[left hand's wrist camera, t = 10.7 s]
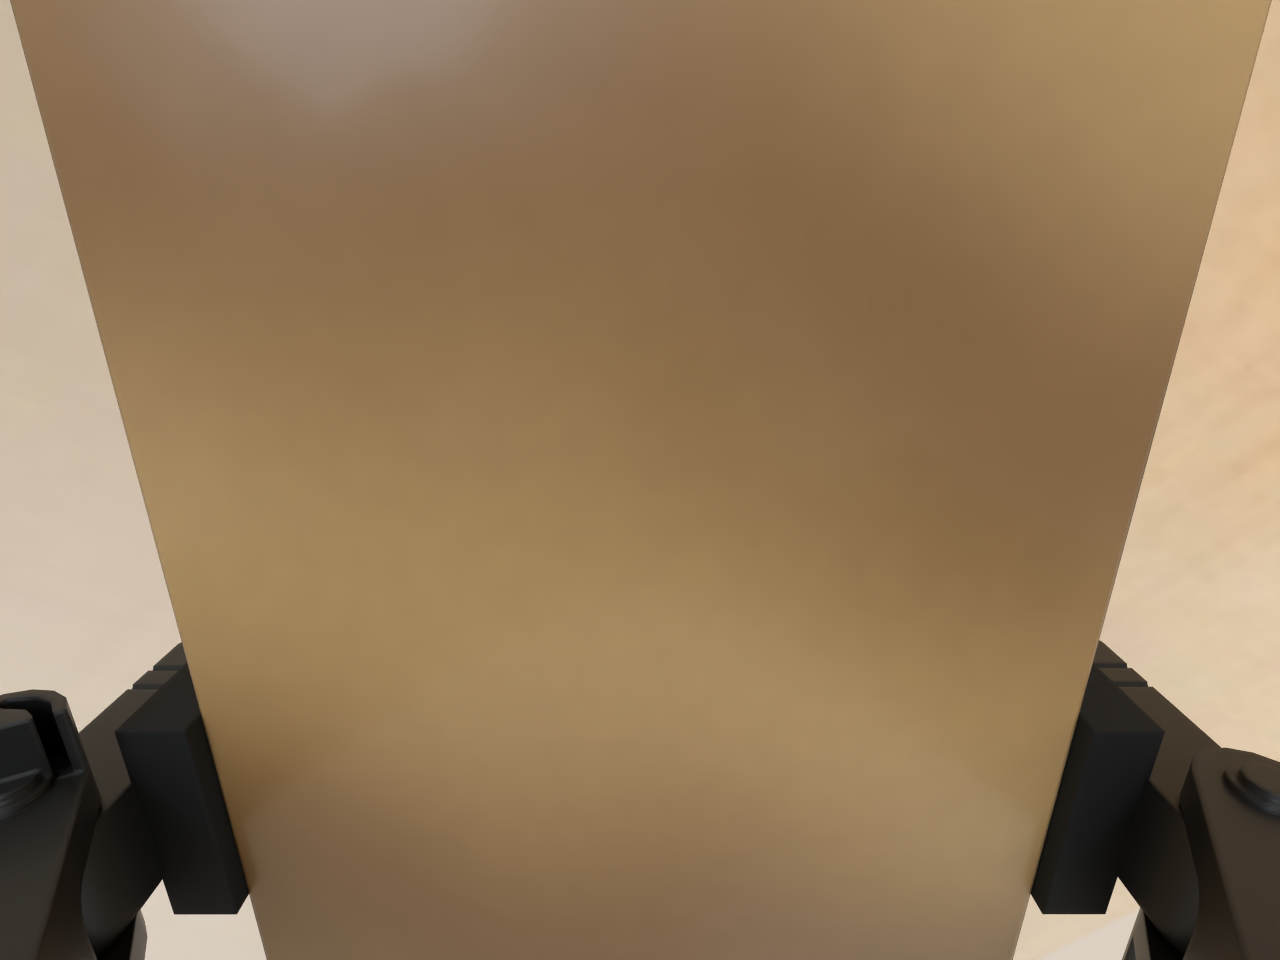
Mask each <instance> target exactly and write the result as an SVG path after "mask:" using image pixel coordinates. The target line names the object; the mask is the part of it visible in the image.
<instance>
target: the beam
mask: <svg viewBox="0 0 1280 960" xmlns="http://www.w3.org/2000/svg"><path fill="white" fill-rule="evenodd" d="M1271 1H1272V0H10V2H11V5H12V9H13V13H14V17H15V20H16V24H17V28H18V31H19V35H20V39H21V43H22V46H23V50H24V54H25V58H26V61H27V65H28V69H29V73H30V76H31V80H32V84H33V88H34V91H35V95H36V99H37V102H38V106H39V110H40V114H41V117H42V121H43V125H44V129H45V132H46V136H47V140H48V144H49V147H50V151H51V155H52V159H53V162H54V166H55V170H56V173H57V177H58V181H59V185H60V188H61V192H62V196H63V200H64V203H65V207H66V211H67V215H68V218H69V222H70V226H71V230H72V233H73V237H74V241H75V244H76V248H77V252H78V256H79V259H80V263H81V267H82V271H83V274H84V278H85V282H86V286H87V289H88V293H89V297H90V301H91V304H92V308H93V312H94V315H95V319H96V323H97V327H98V330H99V334H100V338H101V342H102V345H103V349H104V353H105V357H106V360H107V364H108V368H109V372H110V375H111V379H112V383H113V386H114V390H115V394H116V398H117V401H118V405H119V409H120V413H121V416H122V420H123V424H124V428H125V431H126V435H127V439H128V442H129V446H130V450H131V454H132V457H133V461H134V465H135V469H136V472H137V476H138V480H139V484H140V487H141V491H142V495H143V499H144V502H145V506H146V510H147V513H148V517H149V521H150V525H151V528H152V532H153V536H154V540H155V543H156V547H157V551H158V555H159V558H160V562H161V566H162V570H163V573H164V577H165V581H166V584H167V588H168V592H169V596H170V599H171V603H172V607H173V611H174V614H175V618H176V622H177V626H178V629H179V633H180V637H181V641H182V644H183V648H184V652H185V655H186V659H187V663H188V667H189V670H190V674H191V678H192V682H193V685H194V689H195V693H196V697H197V700H198V704H199V708H200V712H201V715H202V719H203V723H204V726H205V730H206V734H207V738H208V741H209V745H210V749H211V753H212V756H213V760H214V764H215V768H216V771H217V775H218V779H219V783H220V786H221V790H222V794H223V797H224V801H225V805H226V809H227V812H228V816H229V820H230V824H231V827H232V831H233V835H234V839H235V842H236V846H237V850H238V854H239V857H240V861H241V865H242V868H243V872H244V876H245V880H246V883H247V887H248V891H249V895H250V898H251V902H252V906H253V910H254V913H255V917H256V921H257V925H258V928H259V932H260V936H261V939H262V943H263V947H264V951H265V954H266V958H267V960H1013V956H1014V953H1015V949H1016V945H1017V941H1018V938H1019V934H1020V930H1021V927H1022V923H1023V919H1024V915H1025V912H1026V908H1027V904H1028V901H1029V897H1030V893H1031V890H1032V886H1033V882H1034V878H1035V875H1036V871H1037V867H1038V864H1039V860H1040V856H1041V853H1042V849H1043V845H1044V841H1045V838H1046V834H1047V830H1048V827H1049V823H1050V819H1051V816H1052V812H1053V808H1054V804H1055V801H1056V797H1057V793H1058V790H1059V786H1060V782H1061V778H1062V775H1063V771H1064V767H1065V764H1066V760H1067V756H1068V753H1069V749H1070V745H1071V741H1072V738H1073V734H1074V730H1075V727H1076V723H1077V719H1078V716H1079V712H1080V708H1081V704H1082V701H1083V697H1084V693H1085V690H1086V686H1087V682H1088V678H1089V675H1090V671H1091V667H1092V664H1093V660H1094V656H1095V653H1096V649H1097V645H1098V641H1099V638H1100V634H1101V630H1102V627H1103V623H1104V619H1105V616H1106V612H1107V608H1108V604H1109V601H1110V597H1111V593H1112V590H1113V586H1114V582H1115V578H1116V575H1117V571H1118V567H1119V564H1120V560H1121V556H1122V553H1123V549H1124V545H1125V541H1126V538H1127V534H1128V530H1129V527H1130V523H1131V519H1132V516H1133V512H1134V508H1135V504H1136V501H1137V497H1138V493H1139V490H1140V486H1141V482H1142V478H1143V475H1144V471H1145V467H1146V464H1147V460H1148V456H1149V453H1150V449H1151V445H1152V441H1153V438H1154V434H1155V430H1156V427H1157V423H1158V419H1159V416H1160V412H1161V408H1162V404H1163V401H1164V397H1165V393H1166V390H1167V386H1168V382H1169V378H1170V375H1171V371H1172V367H1173V364H1174V360H1175V356H1176V353H1177V349H1178V345H1179V341H1180V338H1181V334H1182V330H1183V327H1184V323H1185V319H1186V316H1187V312H1188V308H1189V304H1190V301H1191V297H1192V293H1193V290H1194V286H1195V282H1196V279H1197V275H1198V271H1199V267H1200V264H1201V260H1202V256H1203V253H1204V249H1205V245H1206V241H1207V238H1208V234H1209V230H1210V227H1211V223H1212V219H1213V216H1214V212H1215V208H1216V204H1217V201H1218V197H1219V193H1220V190H1221V186H1222V182H1223V179H1224V175H1225V171H1226V167H1227V164H1228V160H1229V156H1230V153H1231V149H1232V145H1233V141H1234V138H1235V134H1236V130H1237V127H1238V123H1239V119H1240V116H1241V112H1242V108H1243V104H1244V101H1245V97H1246V93H1247V90H1248V86H1249V82H1250V79H1251V75H1252V71H1253V67H1254V64H1255V60H1256V56H1257V53H1258V49H1259V45H1260V41H1261V38H1262V34H1263V30H1264V27H1265V23H1266V19H1267V16H1268V12H1269V8H1270V4H1271Z"/></svg>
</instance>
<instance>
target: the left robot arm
mask: <svg viewBox="0 0 1280 960" xmlns="http://www.w3.org/2000/svg"><path fill="white" fill-rule="evenodd" d="M1117 877H1119V879H1120V880H1121V881H1122V883H1123V884H1124V886H1125V887H1126V888H1127V890H1128V891H1129V892H1130V894H1131V895H1132V896H1133V898H1134V899H1135V900H1136V902H1137V903H1138V904H1139V906H1140V910H1139V913H1138V915H1137V918H1136V921H1135V924H1134V927H1133V930H1132V933H1131V936H1130V938H1129V941H1128V944H1127V947H1126V950H1125V953H1124V956H1123V958H1122V960H1280V762H1278V761H1275V760H1272V759H1269V758H1266V757H1264V756H1261V755H1258V754H1255V753H1252V752H1246V751H1241V750H1235V749H1230V748H1221V747H1220V746H1219V745H1218V744H1216V743H1215V742H1214V741H1213V740H1212V739H1211V738H1210V737H1209V736H1207V735H1206V734H1205V733H1204V732H1203V731H1202V730H1201V729H1200V728H1198V727H1197V726H1196V725H1195V724H1194V723H1193V722H1192V721H1191V720H1189V719H1188V718H1187V717H1186V716H1185V715H1184V714H1183V713H1182V712H1180V711H1179V710H1178V709H1177V708H1176V707H1175V706H1174V705H1173V704H1171V703H1170V702H1169V701H1168V700H1167V699H1166V698H1165V697H1164V696H1162V695H1161V694H1160V693H1159V692H1158V691H1157V690H1156V689H1155V688H1153V687H1148V685H1147V681H1146V680H1144V679H1143V678H1142V677H1141V676H1140V675H1139V674H1138V673H1137V672H1135V671H1134V670H1133V669H1132V668H1127V664H1126V663H1125V662H1124V661H1123V660H1122V659H1121V658H1120V657H1119V656H1117V655H1116V654H1115V653H1114V652H1113V651H1112V650H1111V649H1110V648H1108V647H1107V646H1106V645H1105V644H1104V643H1103V642H1101V641H1100V640H1099V641H1098V645H1097V649H1096V653H1095V656H1094V660H1093V664H1092V667H1091V671H1090V675H1089V678H1088V682H1087V686H1086V690H1085V693H1084V697H1083V701H1082V704H1081V708H1080V712H1079V716H1078V719H1077V723H1076V727H1075V730H1074V734H1073V738H1072V741H1071V745H1070V749H1069V753H1068V756H1067V760H1066V764H1065V767H1064V771H1063V775H1062V778H1061V782H1060V786H1059V790H1058V793H1057V797H1056V801H1055V804H1054V808H1053V812H1052V816H1051V819H1050V823H1049V827H1048V830H1047V834H1046V838H1045V841H1044V845H1043V849H1042V853H1041V856H1040V860H1039V864H1038V867H1037V871H1036V875H1035V878H1034V882H1033V886H1032V890H1031V895H1032V897H1033V898H1034V900H1035V902H1036V904H1037V905H1038V907H1039V909H1040V910H1041V912H1042V914H1105V913H1106V910H1107V907H1108V904H1109V901H1110V898H1111V895H1112V892H1113V889H1114V886H1115V883H1116V880H1117ZM162 879H163V882H164V885H165V888H166V891H167V894H168V897H169V900H170V903H171V906H172V909H173V912H174V914H237V913H238V911H239V910H240V908H241V906H242V905H243V903H244V901H245V899H246V898H247V896H248V894H249V891H248V887H247V883H246V880H245V876H244V872H243V868H242V865H241V861H240V857H239V854H238V850H237V846H236V842H235V839H234V835H233V831H232V827H231V824H230V820H229V816H228V812H227V809H226V805H225V801H224V797H223V794H222V790H221V786H220V783H219V779H218V775H217V771H216V768H215V764H214V760H213V756H212V753H211V749H210V745H209V741H208V738H207V734H206V730H205V726H204V723H203V719H202V715H201V712H200V708H199V704H198V700H197V697H196V693H195V689H194V685H193V682H192V678H191V674H190V670H189V667H188V663H187V659H186V655H185V652H184V648H183V644H182V642H181V643H180V644H178V645H177V646H176V647H174V648H173V649H172V650H171V651H170V652H169V653H168V654H167V655H166V656H164V657H163V658H162V659H161V660H160V661H159V662H158V663H157V664H155V665H154V666H153V671H148V672H147V673H145V674H144V675H143V676H142V677H141V678H140V679H139V680H138V681H136V682H135V683H134V684H133V688H132V689H128V690H126V691H125V692H124V693H123V694H122V695H121V696H120V697H119V698H117V699H116V700H115V701H114V702H113V703H112V704H111V705H110V706H109V707H107V708H106V709H105V710H104V711H103V712H102V713H101V714H100V715H98V716H97V717H96V718H95V719H94V720H93V721H92V722H91V723H90V724H88V725H87V726H86V727H85V728H84V729H83V730H82V731H81V732H79V733H78V730H77V727H76V725H75V722H74V719H73V716H72V713H71V710H70V708H69V705H68V702H67V699H66V697H64V696H62V695H61V694H59V693H57V692H55V691H49V690H27V691H21V692H14V693H8V694H3V695H0V960H144V959H145V951H146V943H147V932H146V926H145V921H144V918H143V915H142V913H141V910H140V909H141V908H142V906H143V905H144V904H145V902H146V901H147V900H148V898H149V897H150V895H151V894H152V893H153V891H154V890H155V889H156V887H157V886H158V885H159V883H160V882H161V880H162Z"/></svg>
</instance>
